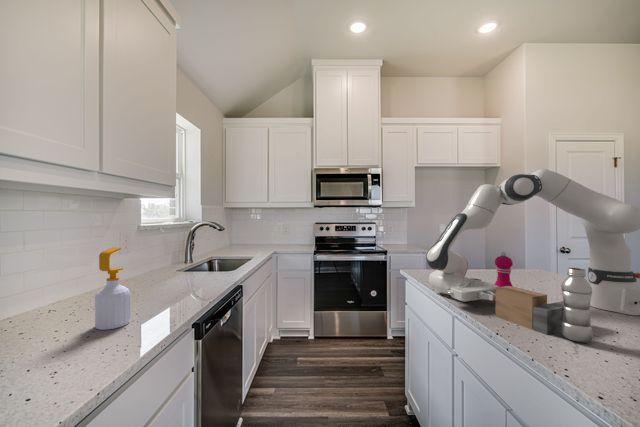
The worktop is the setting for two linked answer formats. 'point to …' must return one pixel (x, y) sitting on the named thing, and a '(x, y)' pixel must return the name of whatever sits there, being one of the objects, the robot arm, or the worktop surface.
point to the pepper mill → (503, 270)
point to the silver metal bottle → (576, 306)
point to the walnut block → (518, 305)
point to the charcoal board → (548, 317)
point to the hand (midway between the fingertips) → (495, 297)
